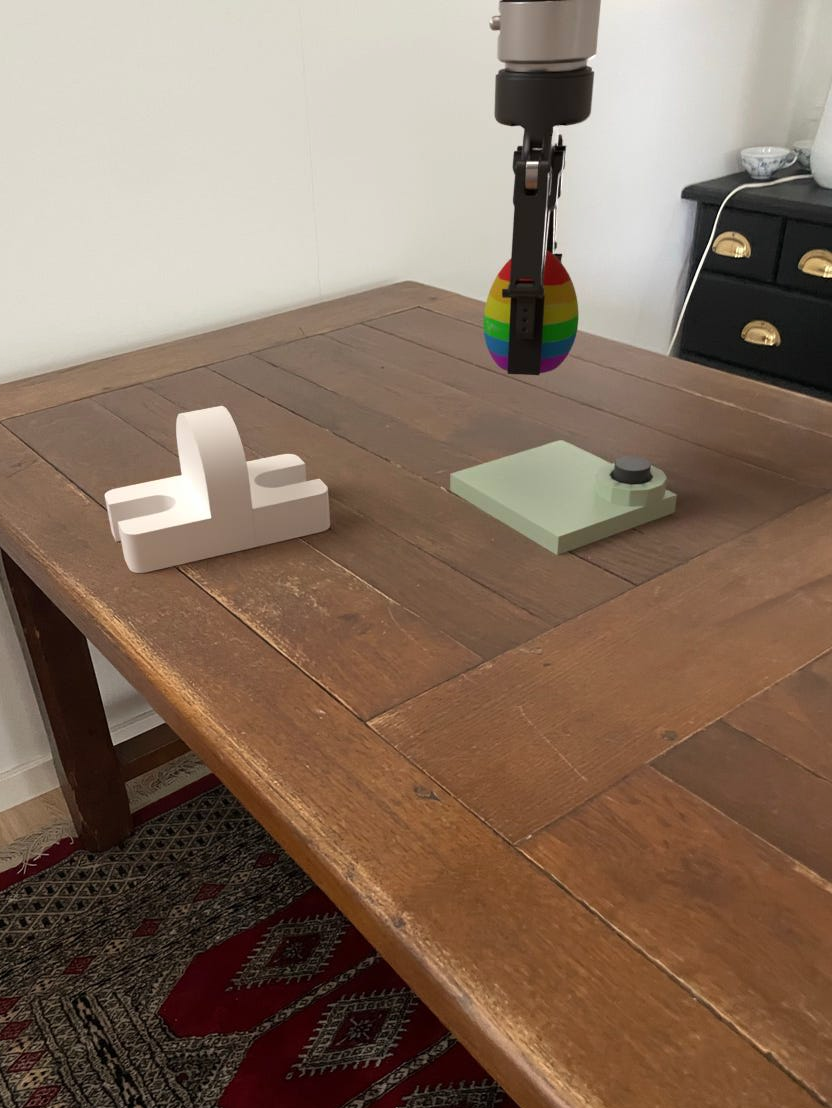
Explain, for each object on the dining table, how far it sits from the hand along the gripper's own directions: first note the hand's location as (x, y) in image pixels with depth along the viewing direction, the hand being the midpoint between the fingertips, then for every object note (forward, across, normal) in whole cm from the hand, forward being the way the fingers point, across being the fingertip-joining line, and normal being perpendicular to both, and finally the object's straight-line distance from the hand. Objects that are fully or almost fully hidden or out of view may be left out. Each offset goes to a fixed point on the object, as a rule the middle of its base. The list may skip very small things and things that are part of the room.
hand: (529, 355), depth 91 cm
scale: (+14, +1, +4) cm, 14 cm away
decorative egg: (+1, 0, 0) cm, 1 cm away
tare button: (+11, +1, +10) cm, 15 cm away
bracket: (+14, +11, -27) cm, 32 cm away
